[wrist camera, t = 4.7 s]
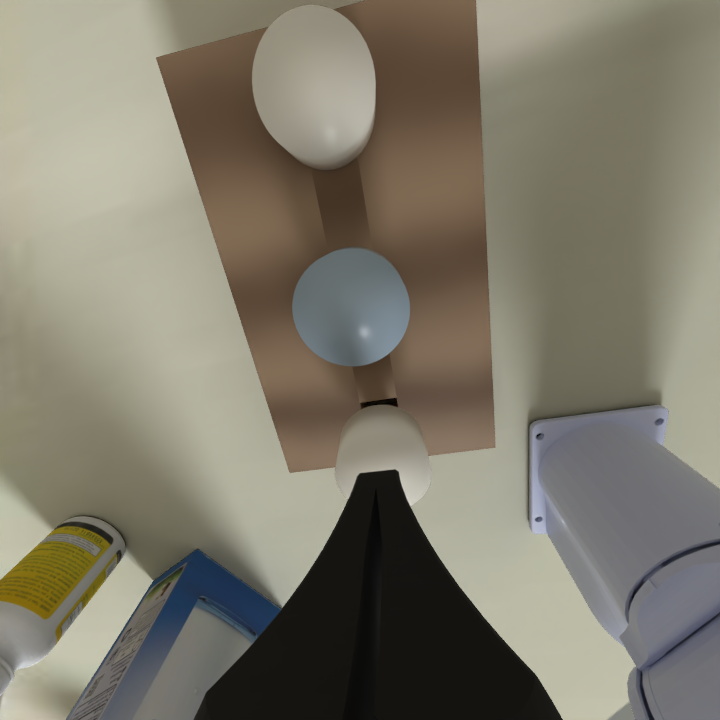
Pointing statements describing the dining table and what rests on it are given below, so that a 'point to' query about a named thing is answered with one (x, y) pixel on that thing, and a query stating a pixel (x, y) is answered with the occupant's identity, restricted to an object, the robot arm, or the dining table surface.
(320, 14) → the knob
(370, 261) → the middle knob
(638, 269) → the dining table surface
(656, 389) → the dining table surface
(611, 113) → the dining table surface
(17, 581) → the supplement bottle
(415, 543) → the robot arm
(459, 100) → the knob panel
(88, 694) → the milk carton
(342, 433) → the knob
